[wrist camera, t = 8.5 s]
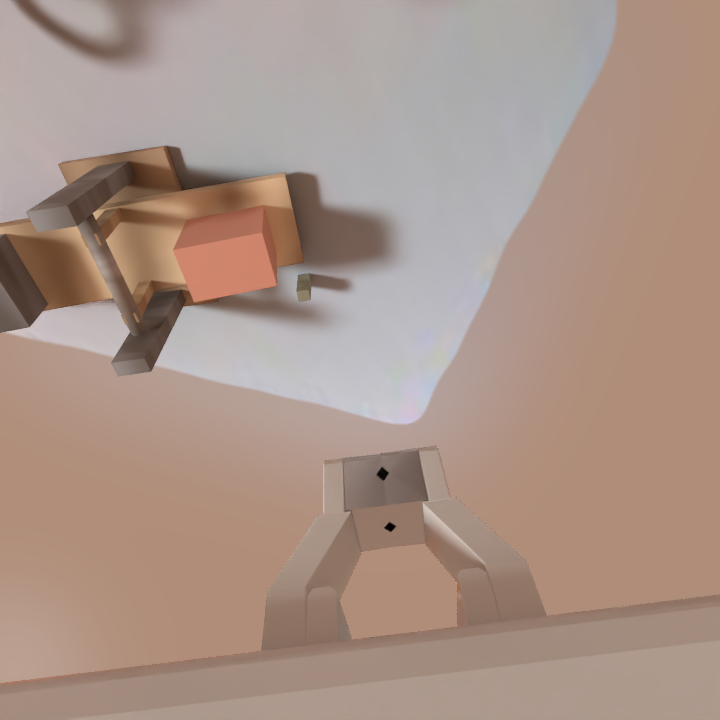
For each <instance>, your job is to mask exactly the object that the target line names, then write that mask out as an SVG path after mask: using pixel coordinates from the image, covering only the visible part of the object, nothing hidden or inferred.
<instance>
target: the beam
mask: <svg viewBox="0 0 720 720" xmlns="http://www.w3.org/2000/svg"><path fill="white" fill-rule="evenodd" d="M262 205H264V208H265V212H266V215H267V219H268V223H269V227H270V230H271V234H272V238H273V241H274V245H275V249H276V253H277V267H281V266H287V265H292V264H298V263H303V262H304V257H303V252H302V248H301V243H300V239H299V234H298V230H297V225H296V221H295V216H294V211H293V207H292V202H291V198H290V193H289V189H288V184H287V179H286V175H285V172H284V173H279V174H273V175H268V176H262V177H256V178H251V179H245V180H240V181H234V182H228V183H223V184H217V185H212V186H206V187H200V188H195V189H189V190H184V191H178V192H172V193H167V194H161V195H156V196H150V197H144V198H139V199H133V200H128V201H122V202H116V203H111V204H105V205H102V206H101V207H100V208H99V209H97V210H96V211H95V212H94V213H93V214H91V215H90V216H89V217H88V218H87V219H85V220H84V221H83V222H82V223H81V224H79V225H78V226H75V227H69V228H62V229H56V230H50V231H43V232H37V231H36V229H35V227H34V225H33V224H32V222H31V220H30V218H27V219H21V220H16V221H10V222H4V223H0V333H1V332H6V331H12V330H17V329H22V328H28V327H30V326H31V325H32V324H33V322H34V321H35V320H36V319H37V318H38V316H39V315H40V314H41V313H42V311H46V310H52V309H57V308H62V307H68V306H73V305H79V304H84V303H89V302H95V301H100V300H105V299H111V298H114V300H115V302H116V304H117V306H118V308H119V310H120V312H121V314H122V315H121V316H122V318H123V320H124V322H125V324H126V325H127V326H128V328H129V330H130V332H131V334H132V335H133V336H138V335H142V334H144V333H145V332H147V330H148V328H147V326H146V323H145V321H144V319H143V317H142V316H143V314H144V311H145V309H146V307H147V305H148V303H149V300H150V298H151V296H152V294H153V292H154V290H159V289H164V288H169V287H175V286H180V285H185V284H186V281H185V279H184V276H183V274H182V272H181V269H180V267H179V264H178V262H177V259H176V257H175V254H174V252H173V249H174V246H175V244H176V242H177V240H178V238H179V235H180V233H181V231H182V229H183V227H184V225H185V222H186V220H190V219H195V218H200V217H205V216H210V215H215V214H221V213H226V212H231V211H236V210H241V209H246V208H251V207H256V206H262Z"/></svg>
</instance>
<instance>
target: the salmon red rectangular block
mask: <svg viewBox="0 0 720 720" xmlns="http://www.w3.org/2000/svg"><path fill="white" fill-rule="evenodd" d="M173 252H174V254H175V257H176V259H177V262H178V264H179V267H180V269H181V272H182V274H183V276H184V279H185V281H186V284H187V286H188V289H189V291H190V294H191V296H192V298H193V301H194V302H199V301H204V300H209V299H214V298H219V297H224V296H229V295H234V294H239V293H244V292H249V291H254V290H259V289H264V288H269V287H273V286H277V253H276V249H275V245H274V241H273V238H272V234H271V230H270V227H269V223H268V219H267V215H266V212H265V208H264V205H262V206H256V207H251V208H246V209H241V210H236V211H231V212H226V213H221V214H215V215H210V216H205V217H200V218H195V219H190V220H186V222H185V225H184V227H183V229H182V231H181V233H180V235H179V238H178V240H177V242H176V244H175V246H174V249H173Z"/></svg>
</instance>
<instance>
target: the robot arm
mask: <svg viewBox="0 0 720 720" xmlns="http://www.w3.org/2000/svg"><path fill="white" fill-rule="evenodd" d="M425 543H426V546H427V547H428V548H429V549H430V550H431V552H432V553H433V554H434V555H435V556H436V558H437V559H438V560H439V561H440V563H441V564H442V565H443V566H444V567H445V569H446V570H447V571H448V572H449V573H450V574H451V576H452V577H453V578H454V579H455V581H456V582H457V626H458V627H451V628H443V629H435V630H427V631H418V632H411V633H402V634H395V635H386V636H378V637H370V638H362V639H354V640H352V639H351V634H350V631H349V628H348V625H347V621H346V619H345V615H344V613H343V609H342V606H341V604H340V598H341V596H342V594H343V592H344V590H345V588H346V586H347V584H348V581H349V579H350V577H351V575H352V573H353V571H354V569H355V566H356V564H357V562H358V560H359V558H360V556H361V552H363V551H369V550H375V549H381V548H388V547H395V546H405V545H415V544H425ZM0 720H720V594H719V595H711V596H703V597H694V598H687V599H679V600H671V601H663V602H655V603H647V604H638V605H630V606H622V607H614V608H606V609H598V610H589V611H581V612H573V613H566V614H558V615H549V616H547V615H546V613H545V610H544V607H543V604H542V602H541V599H540V596H539V593H538V591H537V588H536V585H535V582H534V580H533V577H532V574H531V571H530V569H529V566H528V563H527V560H526V559H525V558H523V557H522V556H521V555H520V554H519V553H518V552H517V551H516V550H515V549H514V548H512V547H511V546H510V545H509V544H508V543H507V542H506V541H505V540H504V539H502V538H501V537H500V536H499V535H498V534H497V533H496V532H495V531H493V530H492V529H491V528H490V527H489V526H488V525H487V524H486V523H485V522H484V521H482V520H481V519H480V518H479V517H478V516H477V515H476V514H475V513H473V512H472V511H471V510H470V509H469V508H468V507H467V506H466V505H465V504H463V503H462V502H461V501H460V500H459V499H458V498H457V497H455V498H451V496H450V492H449V488H448V485H447V481H446V477H445V473H444V469H443V465H442V462H441V458H440V454H439V450H438V448H437V446H430V447H423V448H418V449H417V448H413V449H407V450H400V451H393V452H386V453H380V454H376V455H367V456H358V457H349V458H341V459H334V460H325V461H324V465H323V515H318V516H317V517H316V519H315V520H314V522H313V523H312V525H311V526H310V528H309V530H308V531H307V532H306V534H305V536H304V537H303V539H302V540H301V542H300V543H299V545H298V546H297V548H296V549H295V551H294V552H293V554H292V555H291V557H290V558H289V560H288V561H287V563H286V564H285V566H284V568H283V569H282V571H281V572H280V574H279V575H278V577H277V578H276V580H275V581H274V583H273V584H272V586H271V587H270V589H269V590H268V592H267V598H266V608H265V618H264V628H263V639H262V650H261V651H257V652H248V653H241V654H232V655H224V656H216V657H208V658H201V659H193V660H184V661H177V662H168V663H160V664H152V665H143V666H135V667H127V668H120V669H111V670H103V671H95V672H88V673H79V674H71V675H64V676H55V677H47V678H39V679H30V680H22V681H14V682H6V683H0Z"/></svg>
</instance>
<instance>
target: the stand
mask: <svg viewBox="0 0 720 720" xmlns="http://www.w3.org/2000/svg"><path fill="white" fill-rule="evenodd" d="M58 166H59V168H60V170H61V172H62V174H63V176H64V178H65V180H66V182H67V184H68V185H67V186H66V187H64V188H63V189H61V190H60V191H58V192H56V193H55V194H53V195H52V196H50V197H49V198H47V199H46V200H44V201H42V202H41V203H39V204H38V205H36V206H35V207H33V208H32V209H30V210H28V211H27V212H26V213H27V215H28V217H29V218H30V220H31V222H32V224H33V225H34V227H35V229H36V231H37V232H43V231H50V230H56V229H62V228H69V227H75V226H78V225H79V224H81V223H82V222H83V221H84V220H85V219H87V218H88V217H89V216H90V215H91V214H93V213H94V212H95V211H96V210H97V209H99V208H100V207H101V206H102V205H105V204H111V203H116V202H122V201H128V200H133V199H139V198H144V197H150V196H156V195H161V194H167V193H172V192H178V191H182V189H181V186H180V183H179V180H178V177H177V175H176V172H175V169H174V166H173V163H172V160H171V158H170V155H169V152H168V149H167V146H161V147H154V148H148V149H142V150H135V151H129V152H123V153H117V154H110V155H104V156H98V157H91V158H85V159H79V160H73V161H66V162H62V163H60V164H58ZM297 295H298V300H299V302H300V301H307V300H311V280H310V275H309V274H303V275H298V282H297ZM219 298H220V297H219ZM219 298H214V299H209V300H204V301H199V302H194V301H193V298H192V296H191V294H190V291H189V289H188V286H187V284H185V285H180V286H175V287H169V288H164V289H159V290H154V292H153V294H152V296H151V298H150V300H149V303H148V305H147V307H146V309H145V311H144V314H143V316H142V317H143V319H144V321H145V323H146V326H147V328H148V330H147V332H145V333H144V334H142V335H138V336H133V335H132V334H131V332H130V333H129V335H128V337H127V338H126V340H125V341H124V343H123V345H122V346H121V348H120V349H119V351H118V353H117V354H116V356H115V357H114V359H113V361H112V362H111V364H112V366H113V367H114V369H115V371H116V372H117V375H118V376H123V375H130V374H138V373H144V372H151V371H152V369H153V367H154V365H155V363H156V361H157V359H158V356H159V354H160V352H161V350H162V348H163V346H164V344H165V342H166V340H167V338H168V336H169V334H170V332H171V330H172V328H173V326H174V324H175V322H176V320H177V318H178V316H179V314H180V312H181V310H182V308H183V307H184V306H191V305H197V304H204V303H211V302H217V301H218V300H219Z"/></svg>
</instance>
